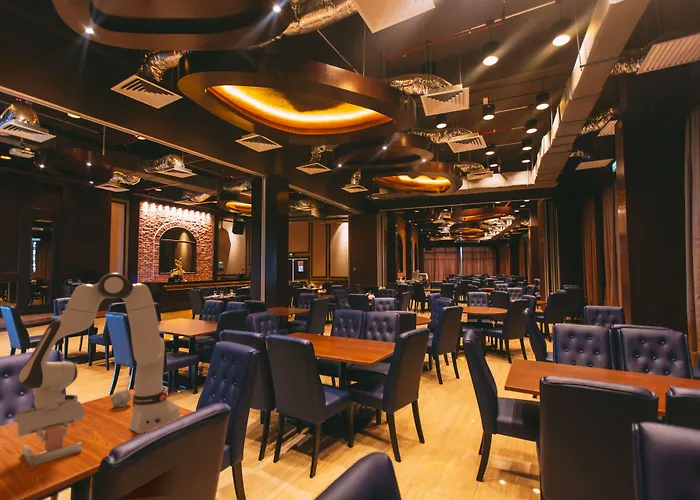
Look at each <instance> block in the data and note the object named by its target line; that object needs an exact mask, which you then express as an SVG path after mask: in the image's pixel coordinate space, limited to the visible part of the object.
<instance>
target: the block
mask: <svg viewBox="0 0 700 500" xmlns="http://www.w3.org/2000/svg"><path fill="white" fill-rule="evenodd" d="M63 430H64V427H63V426H62V425H61V424H58V425H54V426H50V427H46V430H45V434H47V440H46V441H44V450H45V451H46V452H48V451H52V450H55V449H58V448H62V447H64V445H63V443H64V436H63ZM45 434H44V435H45Z"/></svg>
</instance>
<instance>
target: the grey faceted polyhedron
mask: <svg viewBox="0 0 700 500" xmlns="http://www.w3.org/2000/svg"><path fill="white" fill-rule="evenodd" d="M109 399H110V401H111V404H112V406H113V408H125V407H126V406H127V405H128V403H129V402H130V401H131V400H133V397H132V396H131V394H130V392H129V390H128V389H118V390H116V392H114V393H113V394H112V396H111V397H109Z"/></svg>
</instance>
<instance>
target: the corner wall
mask: <svg viewBox="0 0 700 500" xmlns="http://www.w3.org/2000/svg"><path fill="white" fill-rule="evenodd" d="M79 452H82V442H81V441H79V442H75V443H72V444H69V445H66V446H63V447H62V448H58V449H55V450H52V451H48V452H46V450H45V451H42V452H39V453H38V454H36V455H35V454H34V453H33V452H32V450H31V448H30V446H29V445H28V444H25V445H22V455H23V457H24V459H25V460H26V462H27V464H28V466H29V467H30V466H31V467H33V466H36V465H40V464H44V463H46V462H50V461H54V460H56V459H60V458H63V457H66V456H69V455H73V454H76V453H79Z"/></svg>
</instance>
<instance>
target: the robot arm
mask: <svg viewBox="0 0 700 500" xmlns="http://www.w3.org/2000/svg"><path fill="white" fill-rule="evenodd" d="M105 299H122V300H123V302H124V304H125V308H126V309H125V310H126V313H127V318H128V323H129V328H130V335H131V336H130V337H131V345H132V353H133V358H134V360H135V362H136V367H135V368H136V369H135V376H134V393H133V397H132V408H133V409H132V415H131V421H130V423H129V426H128V429H129V430H130V431H133V432H136V434H145V433H144V432H146V431H148V430H151V429H153V428H155V427H158V426H160V425H162V424H165V423H167V422H169V421H172V420H174V419H177V418H179V417H181V416H183V415H184V414H181V411H180V407H179V405H177V404H176V403H174V402H172V401H171V400H169V399H168V397H167V396H168V391H164V390H163V379H164V378H163V376H164V364H165V363H164V362H165V352H166V351H165V350H166V349H165V348H166V347H165V346H166V345H165V340H164V339H163V337H161V336H160V330H159V321H158V316H157V312H156V307H155V303H154V299H153V296H152V293H151V291H150V289H149V286H148V285H146V284H144V283H132V282H131V281H130V280H129V279H128V278H127V277H126V276H125V275H123V274H121V273H119V272H109V273H107V274H105V275H103V276H102V277H101V278H100V280H99V281H98V282H96V283H95V284H90V283H85V284H79V285H78V286H76V287H75V288H74V290H73V292H72V293H71V296H70V297H69V299H68V302H67V304H66V307H65V309H64V312H63V313H62V314H61V315H60V317H59V318H58V319H56V320H53V321H51V322H50V324H49V325H48V326H47V327H46V329H45V331H44V333H43V335H41V338H40V339H39V341H38V342H37V345H35V346H36V347H35V348H34V350H33V352H32V353H31V355H30V356H29V358H28V360H27V362H25V364H24V365H23V367H22V368H21V370H20V372H19V375H18V382H19V384H20V385H21V386H22V387H24V388H25V389H27V390H31V389H32V394H33V396H34V402H33V403H34V407H33V408H30V409H26V410H21V411H19V412H18V413H16V415H15V423H17V428H16V430H17V433H16V434H17V436H19V437H23V436H27V435H32V434H35V433H36V435H37V437H39V438H40V439H41V442H45V441H46V440H47V434H44V432H43V431H46V427H50V426H54V425H58V424H61V425H62V426H63V437H64V436H67V433H68V430H67V429H68V427H69V425H70V424H74V423H77V422H80V421H82V420H83V419H84V417H85V410H84V406H83V404H82V403H81V402H80V401H78V395H77V394H63V393H62V391H63V390H64V389H67V387H69V386H70V385H72V383H74V382H75V381H76V379H77V378H78V373H79V371H78V367H77V366H76V364H75V363H74V362H72V361H47V359H48V357H49V355H50V354H51V352H52V350H53V348H54V346H55V344H56V343H57V342H58V340H60V339H62V338H64V337H66V336H69V335H72V334H73V335H74V334H77V333H81V332H83V331H85V330H87V329H89V328H90V327H91V326H92V325H93V324H94V322H95V320H96V317H97V314H98V311H99V307H100V305H101V304H102V302H103V300H105Z"/></svg>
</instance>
